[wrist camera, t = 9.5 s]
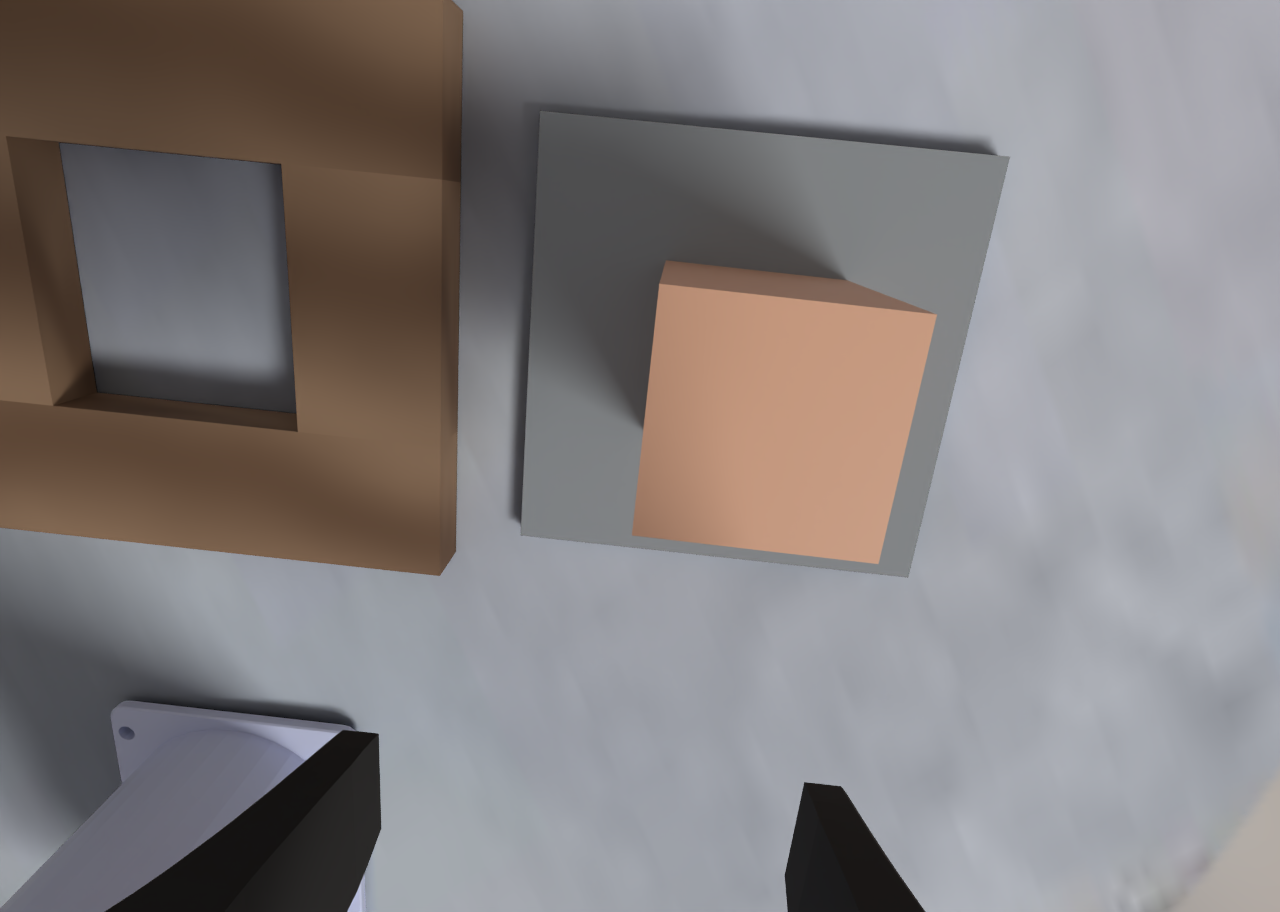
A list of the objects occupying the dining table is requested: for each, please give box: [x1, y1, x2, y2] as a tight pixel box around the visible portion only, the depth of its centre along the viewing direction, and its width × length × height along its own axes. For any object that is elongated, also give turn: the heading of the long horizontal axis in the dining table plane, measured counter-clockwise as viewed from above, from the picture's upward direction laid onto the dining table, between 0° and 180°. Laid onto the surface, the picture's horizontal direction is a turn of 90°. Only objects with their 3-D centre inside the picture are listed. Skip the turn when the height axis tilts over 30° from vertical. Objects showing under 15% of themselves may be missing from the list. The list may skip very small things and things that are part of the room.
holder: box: [0, 0, 463, 576], centre depth 18 cm, size 14×14×2 cm
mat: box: [521, 111, 1010, 577], centre depth 19 cm, size 11×11×1 cm
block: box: [632, 260, 937, 564], centre depth 15 cm, size 4×4×6 cm
